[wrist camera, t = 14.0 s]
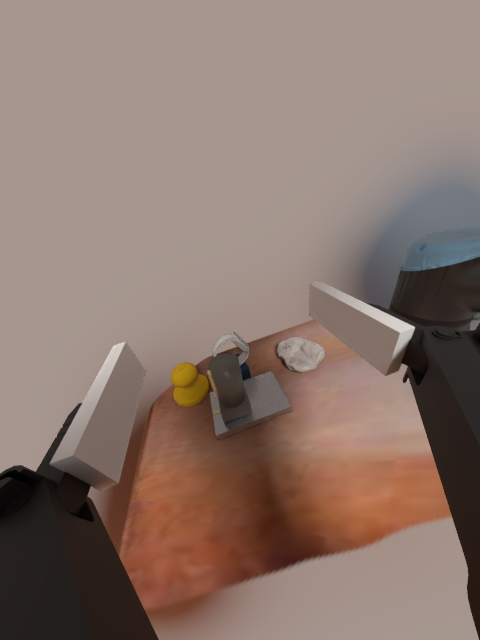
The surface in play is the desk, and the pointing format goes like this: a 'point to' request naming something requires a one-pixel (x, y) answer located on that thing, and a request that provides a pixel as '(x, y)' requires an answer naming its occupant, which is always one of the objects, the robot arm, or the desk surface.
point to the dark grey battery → (229, 386)
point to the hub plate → (253, 405)
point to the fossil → (300, 354)
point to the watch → (242, 357)
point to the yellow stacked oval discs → (188, 385)
